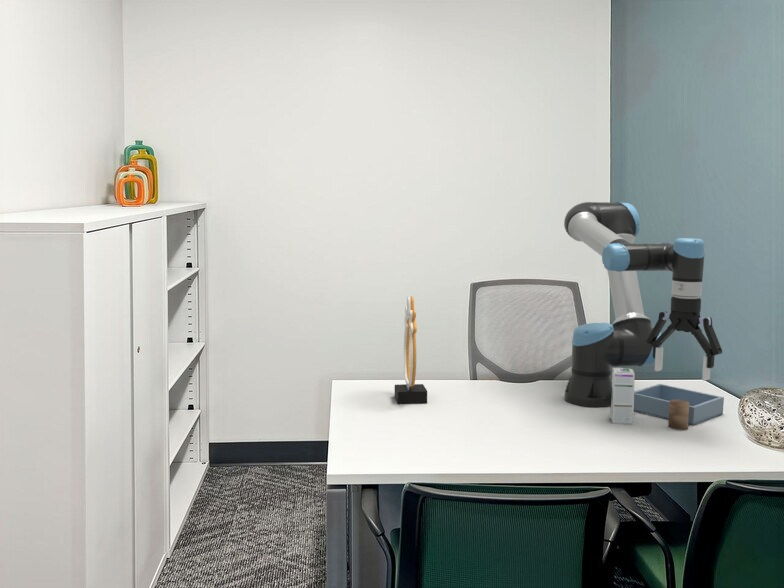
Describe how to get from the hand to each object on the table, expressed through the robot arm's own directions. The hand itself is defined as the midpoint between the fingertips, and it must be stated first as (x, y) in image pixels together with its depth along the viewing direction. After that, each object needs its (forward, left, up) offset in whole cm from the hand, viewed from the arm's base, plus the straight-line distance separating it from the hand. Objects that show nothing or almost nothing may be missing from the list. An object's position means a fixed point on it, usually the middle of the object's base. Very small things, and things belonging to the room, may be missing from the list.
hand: (681, 375), depth 207 cm
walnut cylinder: (0, 0, -14) cm, 14 cm away
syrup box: (-13, -7, -15) cm, 21 cm away
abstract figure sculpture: (-66, -38, -15) cm, 78 cm away
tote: (-8, +13, -14) cm, 21 cm away
